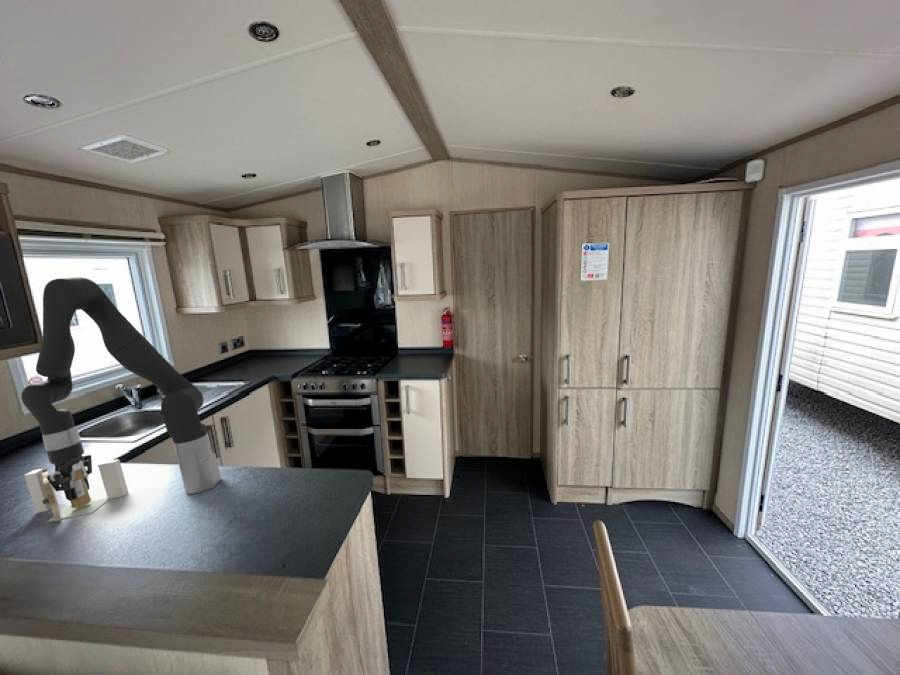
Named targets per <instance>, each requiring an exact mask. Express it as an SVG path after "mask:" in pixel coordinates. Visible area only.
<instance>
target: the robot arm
mask: <svg viewBox="0 0 900 675" xmlns="http://www.w3.org/2000/svg"><path fill="white" fill-rule="evenodd" d="M79 310H81V311H83V312H84V313H85V314H86V315H87V316H88V317H89V318H90V319H91V320H92V321H93V322H94V323H95V324H96V326H97V327H98V329H99V330H100V333H101V337H102V341H103V344H104V346H105V349H106V351H107V352H108V353H109V354H110V356H112V357H113V359H115V361H117V362H118V364H120V365H121V367H124V369H125V370H127V371H129V372H131V373H133V374H134V375H136V376H138V377H140V378H142V379H144V380H147V381H148V382H150V383H152V384H153V385H154V386H155V387H156V388H158V389H159V390H160V391H161V392H162V394H163V395H164V397H163V399H162V400H161V404H160V410H161V415H162V420H163V423H164V425H165V429H166V432H167V433H168V435H169V436H170V438H171V439H172V440H171V441H172V443H173V448H174V450H175V451H174V452H175V456H176V459H177V463H178V464H177V465H178V467H179V471H180V474H181V478H182V482H183V488H184V490H185V491H184V492H185V493H186V494H187V495H194V494H195V495H196V494H199V493H202V492H206V491H208V490H210V489H214V488H215V487H216V486H217V484H218V483H219V482H220V481H221V479H222V476H221V472H220V468H219V467H220V466H219V463H218V459H217V454H216V453H215V452H213V450H212V446H211V442H210V436H209V433H208V428H207V426H206V424H205V423H202V422H201V419H200V417H199V413H198V411H199V410H200V409H201V407H202V406H203V404H204V396H203V394H202V391H200V390H199V388H198V387H196V386H195V385H194V384H193V383H191V382H190V381H189V380H188V379H186V378H185V377H184V376H183V375H182V374H181V373H179V372H178V371H177V370H176V369H175V368H174V367H173V366H172V365H171V364H170V363H169V362H168V360H167V358H165V357H164V356H163V355H162V354H161V353H160V352H159V351H158V350H157V349H156V348H155V347H154V345H152V343H150V342H149V340H148V339H146V338H147V337H145V336H144V335H143V334H142V333H140V332H139V331H138V329H136V327H135V326H134V325H133V324H132V323H131V322H130V321H129V320H128V319H127V318H126V317H125V316H124V315H123V313H121V312H120V310H119V309H118V308H117V306H116V305H114V303H113V302H112V301H111V299H110V298H109V297H108V295H107V294H106V293H105V292H104V290H103V289H102V288H101V287H100V286H99V284H97V283H96V282H95V281H94V280H92V279H91V278H87V277H83V276H82V277H81V276H75V277H74V276H73V277H61V278H55V279H52V280H50V281H49V282H47V283H46V284H45V287H44V289H43V295H42V338H41V339H42V340H41V344H40V350H39V354H38V357H37V361H36V366H35V371H36V373H37V374H38V375H39V376H41V377H46V378H47V379H46V380H43V381H40V382H36V383H31V384H29V385H27V386H26V387H24V388H23V390H22V392H21V397H20V398H21V401H22V403H23V405H24V407H25V408H26V409H27V410H28V411H29V413H30V414H31V415H32V417H33V418H34V419H35V420H36V421H37V422H38V426H39V429H40V431H41V434H42V441H43V442H42V443H43V445H44V448H45V449H44V450H45V452H46V455H47V458H48V461H49V463H50V464H52V465H54V472H53V473H52V474H51V475H50V474H49V476H47V479H48V481H49V482H50V484H51V485H52V486H53V489H54V491H55V492H61V491H63V493H64V495H65V498H66V500H67V501H69V502H70V500H75V499H76V498H77V494H76V491H75V488H74V480H75V471H74V470H75V469H76V467H75V465H74V464H75V463H80V466H81V471H82V474H83V477H84V480H85V483H86V486H87V489H88V491H89V490H90V483H89V475H90V474H92V473H93V463H92V455H91V454H87V455H84V454H85V450H84V447H83V443H82V440H81V437H80V433H79V431H78V429H77V427H76V424H75V421H74V418H73V415H72V414H73V413H72V412H71V411H70V410H69V409H66V408H60V409H57V408H56V407H55V406H54V404H55V403H58V402H60V401H61V402H62V401H63V400H65V399H67V398H68V397H69V396H70V395H71V393H72V391H73V381H72V380H73V379H72V372H71V368H72V365H73V361H74V357H75V353H76V347H75V346H76V345H75V342H74V338H73V336H72V333H71V322H72V320H73V317H74V316H75V315H74V314H75V313H76V311H79ZM63 477H70V478H68V479H64V478H63ZM66 481H68V484H69V485H67V484H66Z"/></svg>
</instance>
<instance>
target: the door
mask: <svg viewBox="0 0 900 675" xmlns="http://www.w3.org/2000/svg"><path fill="white" fill-rule="evenodd" d="M43 469H44V470H42V471H43V473H42V474H43V483H44V487H45V490H46V493H47V497H48V498H47V499H44V500H42V501H43V504H47V503H50V506H51V509H50V510H51V512H52V514H53V516H54V519H55V521H54V522H60V521H62V519H61V515H60V511H61V510H60V505H59V502H58V499H57V496H56V493H55V492H56V491H55V489H54V488H53V486H52V485H51V484H50V482H49V481H48V479H47V476H49V475H50V473H49V470H48V469H47V468H43Z"/></svg>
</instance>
